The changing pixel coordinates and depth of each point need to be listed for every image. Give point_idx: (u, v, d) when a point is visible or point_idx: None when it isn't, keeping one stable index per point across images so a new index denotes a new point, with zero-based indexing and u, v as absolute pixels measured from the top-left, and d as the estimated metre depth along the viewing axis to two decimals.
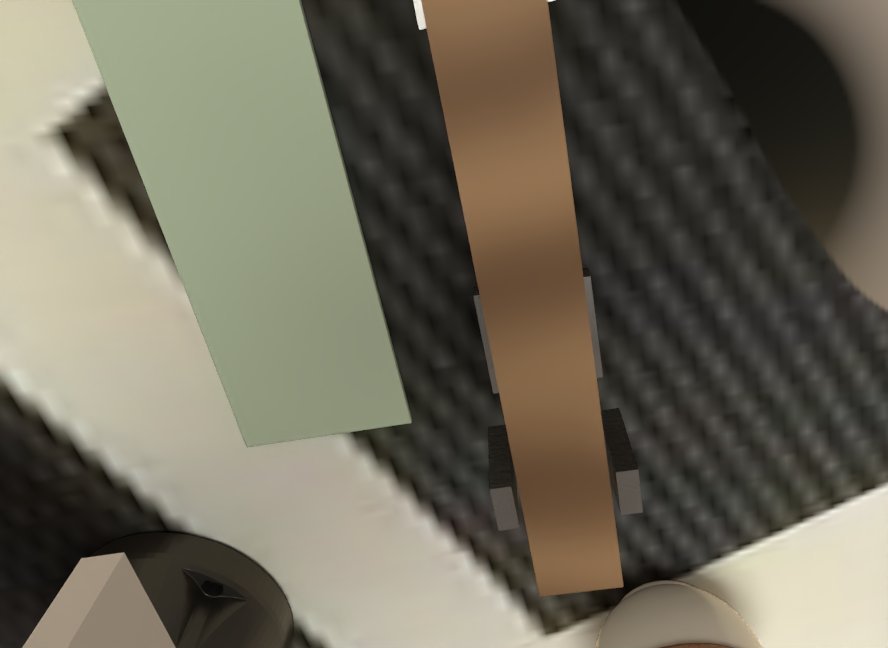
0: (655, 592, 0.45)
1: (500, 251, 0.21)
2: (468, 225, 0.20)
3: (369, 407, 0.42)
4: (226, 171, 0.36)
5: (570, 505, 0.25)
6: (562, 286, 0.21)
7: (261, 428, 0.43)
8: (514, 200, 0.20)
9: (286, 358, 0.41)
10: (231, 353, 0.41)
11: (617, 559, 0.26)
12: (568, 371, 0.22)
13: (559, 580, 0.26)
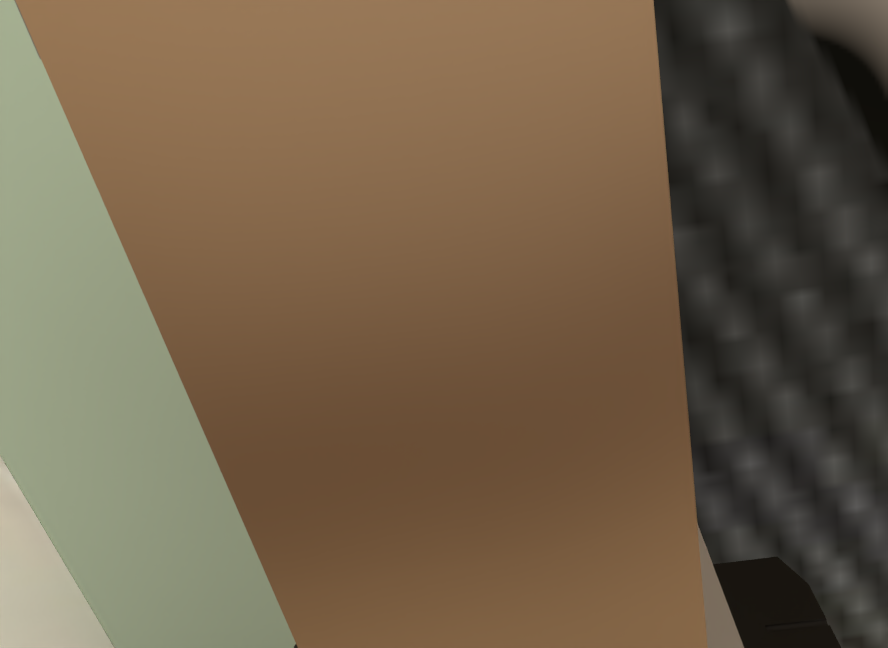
0: None
1: None
2: None
3: None
4: (49, 303, 0.22)
5: None
6: None
7: None
8: None
9: (176, 563, 0.27)
10: (92, 556, 0.27)
11: None
12: None
13: None
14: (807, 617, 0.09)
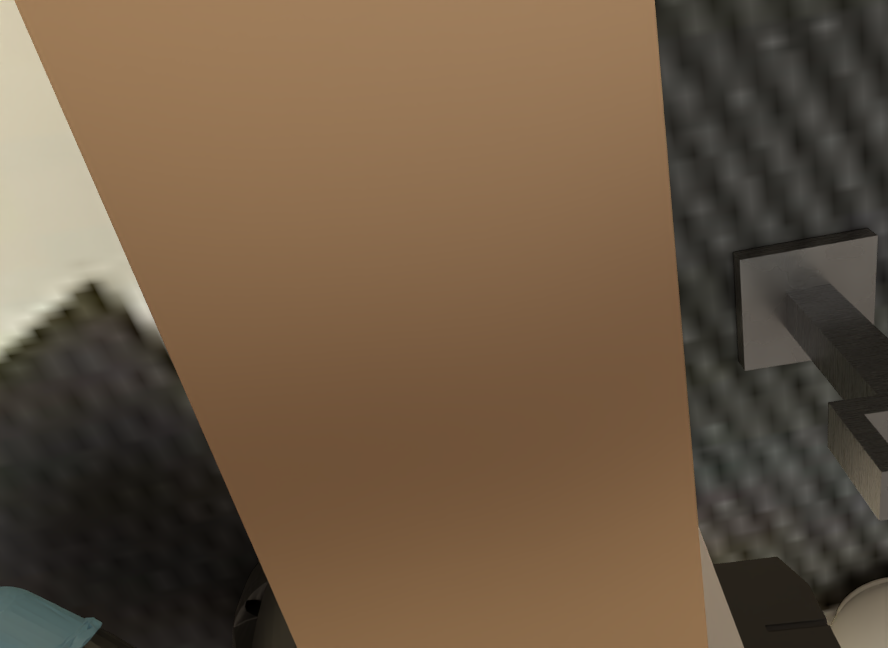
0: None
1: None
2: None
3: None
4: None
5: None
6: None
7: None
8: None
9: None
10: None
11: None
12: None
13: None
14: (807, 617, 0.09)
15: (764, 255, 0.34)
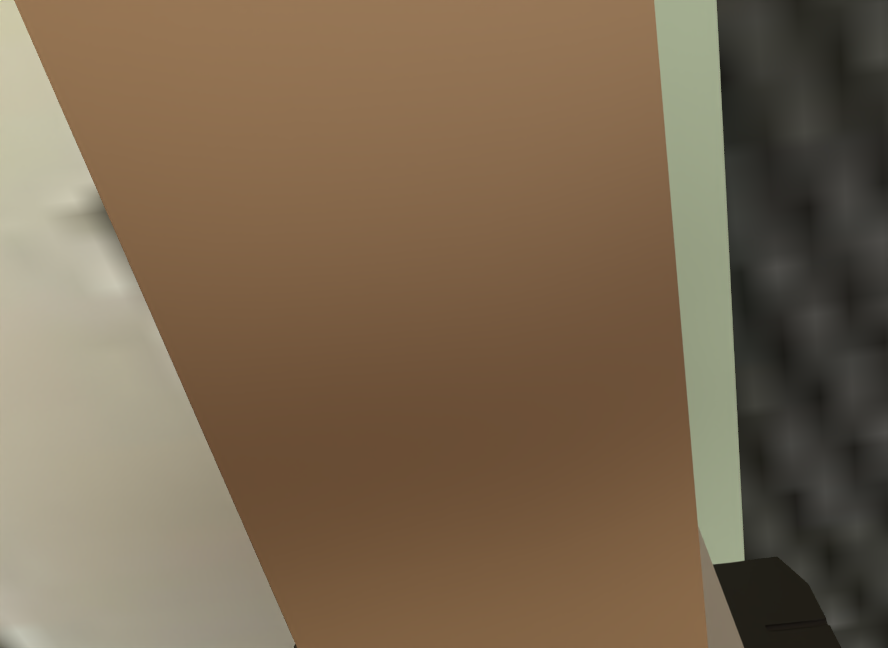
0: None
1: None
2: None
3: None
4: None
5: None
6: None
7: None
8: None
9: None
10: None
11: None
12: None
13: None
14: (807, 617, 0.09)
15: None
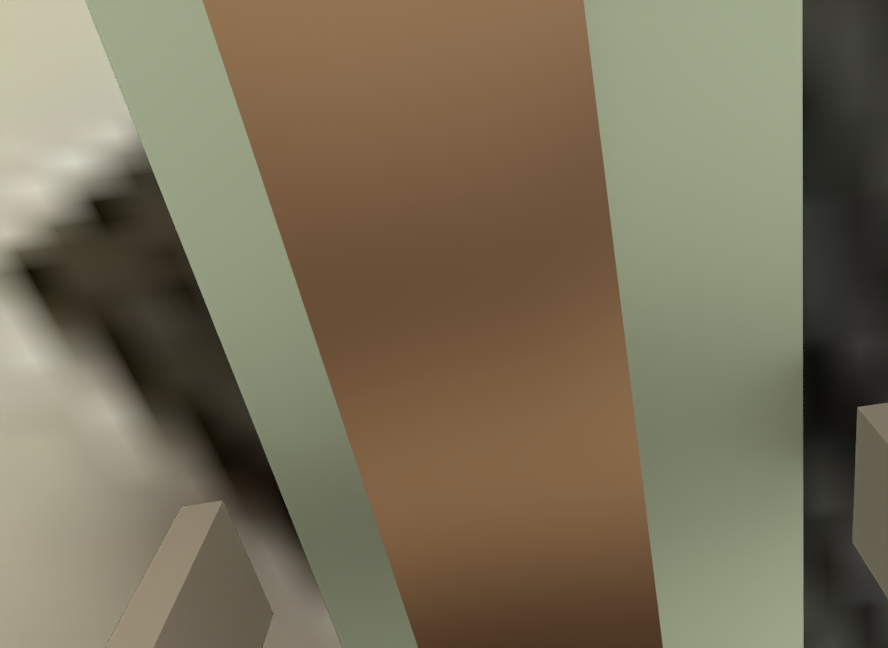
0: None
1: (473, 615, 0.09)
2: (398, 567, 0.09)
3: None
4: None
5: None
6: None
7: None
8: (505, 521, 0.08)
9: None
10: None
11: None
12: None
13: None
14: None
15: None
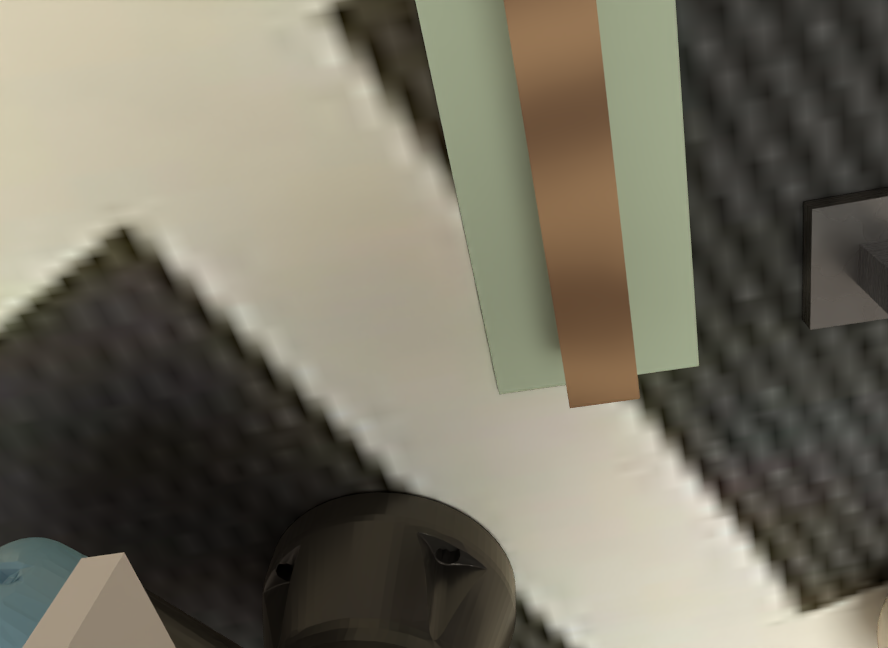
0: None
1: (542, 94, 0.26)
2: (517, 72, 0.26)
3: (652, 347, 0.36)
4: None
5: (596, 323, 0.30)
6: (591, 124, 0.26)
7: (520, 372, 0.37)
8: (554, 49, 0.25)
9: None
10: (500, 282, 0.35)
11: (634, 372, 0.31)
12: (596, 200, 0.28)
13: (586, 392, 0.32)
14: None
15: (838, 204, 0.32)
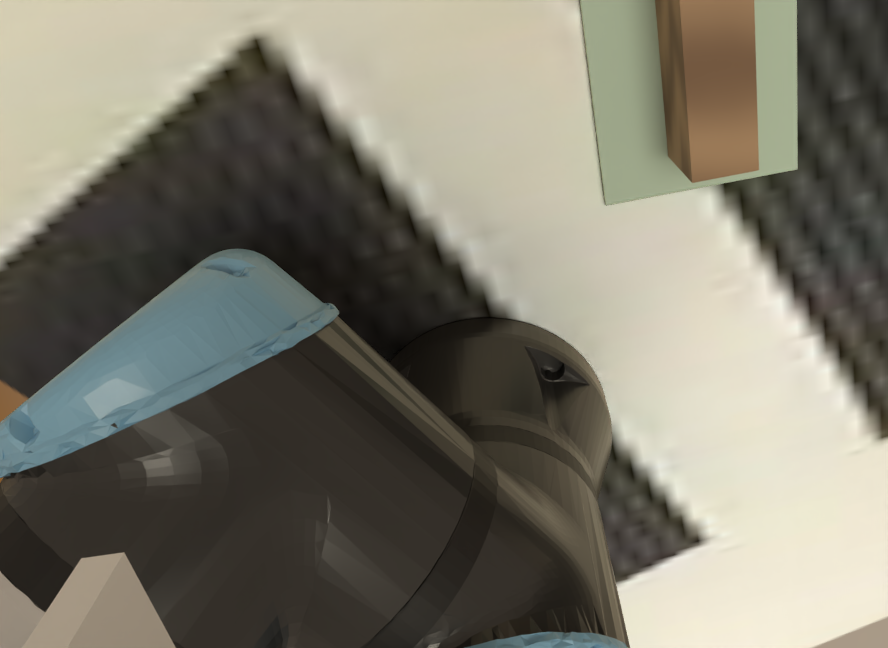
0: None
1: None
2: None
3: None
4: None
5: (723, 88, 0.32)
6: None
7: (627, 181, 0.39)
8: None
9: None
10: (614, 84, 0.37)
11: (756, 141, 0.33)
12: None
13: (709, 165, 0.34)
14: None
15: None
